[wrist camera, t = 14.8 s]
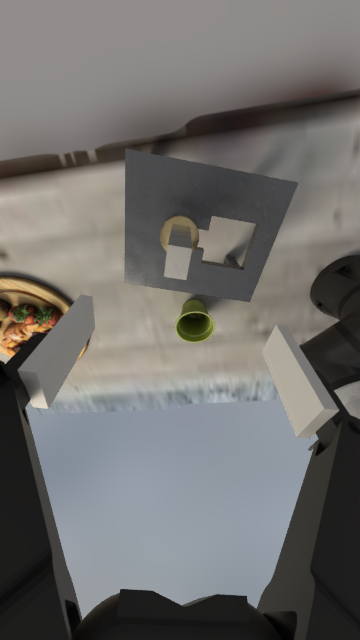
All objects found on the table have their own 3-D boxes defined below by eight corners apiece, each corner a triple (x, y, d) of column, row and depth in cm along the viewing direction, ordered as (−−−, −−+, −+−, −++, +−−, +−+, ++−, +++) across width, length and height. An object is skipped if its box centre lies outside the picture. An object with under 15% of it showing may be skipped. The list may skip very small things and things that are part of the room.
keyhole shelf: (261, 177, 40) (298, 182, 27) (233, 267, 51) (249, 301, 38) (145, 154, 39) (125, 148, 26) (140, 252, 49) (124, 283, 36)
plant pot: (177, 292, 55) (175, 310, 48) (213, 294, 55) (217, 312, 48) (175, 321, 60) (174, 341, 53) (208, 323, 61) (211, 343, 54)
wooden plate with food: (82, 372, 75) (72, 393, 68) (-19, 346, 68) (-41, 365, 62) (97, 300, 57) (86, 317, 51) (-37, 255, 51) (-71, 268, 44)
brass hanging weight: (199, 209, 37) (209, 240, 21) (192, 241, 40) (197, 290, 24) (167, 203, 37) (153, 231, 21) (163, 236, 40) (149, 283, 24)
